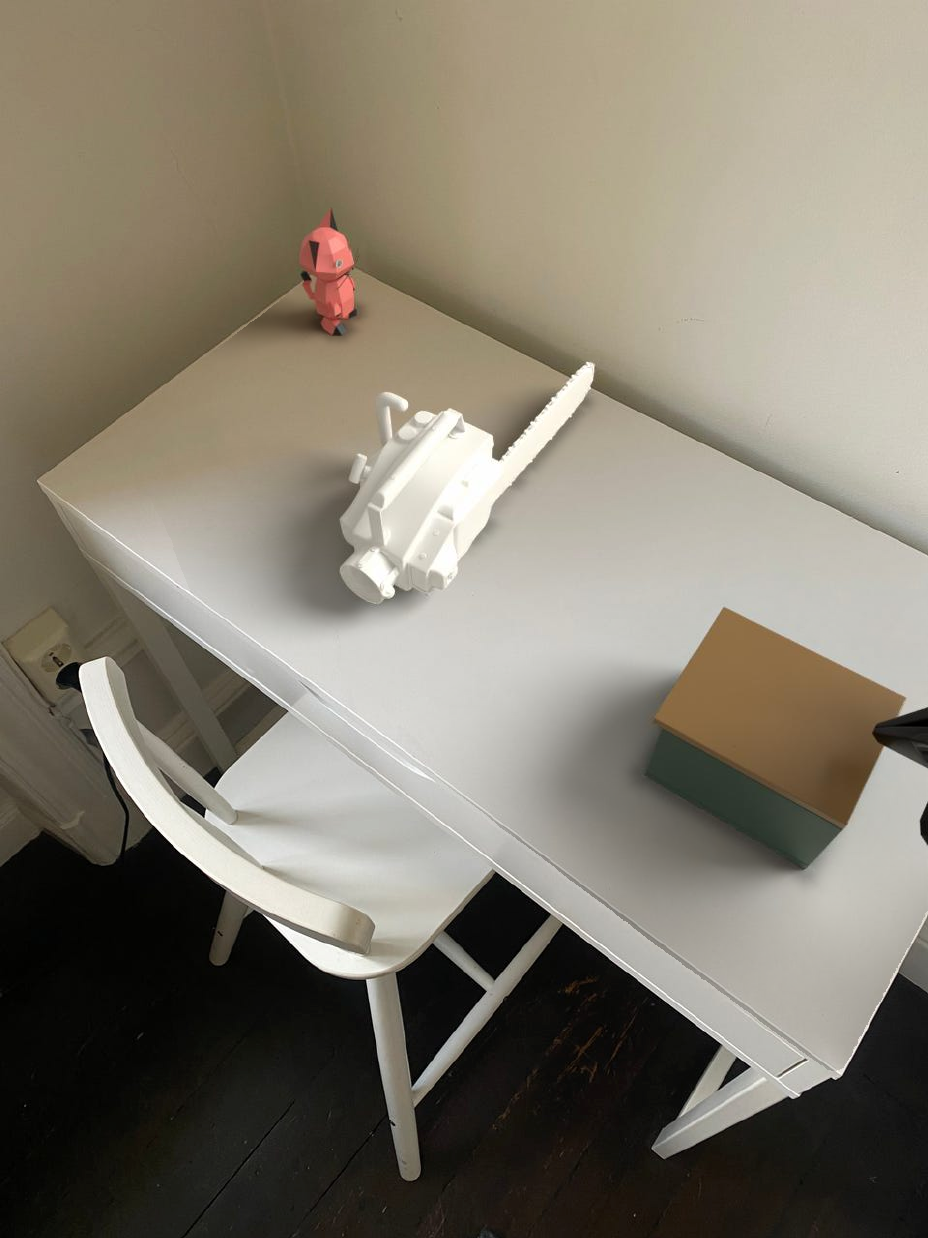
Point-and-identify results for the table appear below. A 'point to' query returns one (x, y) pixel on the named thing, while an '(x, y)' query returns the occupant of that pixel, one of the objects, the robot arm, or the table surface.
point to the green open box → (739, 800)
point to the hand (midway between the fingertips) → (876, 733)
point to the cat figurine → (329, 274)
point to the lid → (780, 715)
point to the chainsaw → (434, 492)
